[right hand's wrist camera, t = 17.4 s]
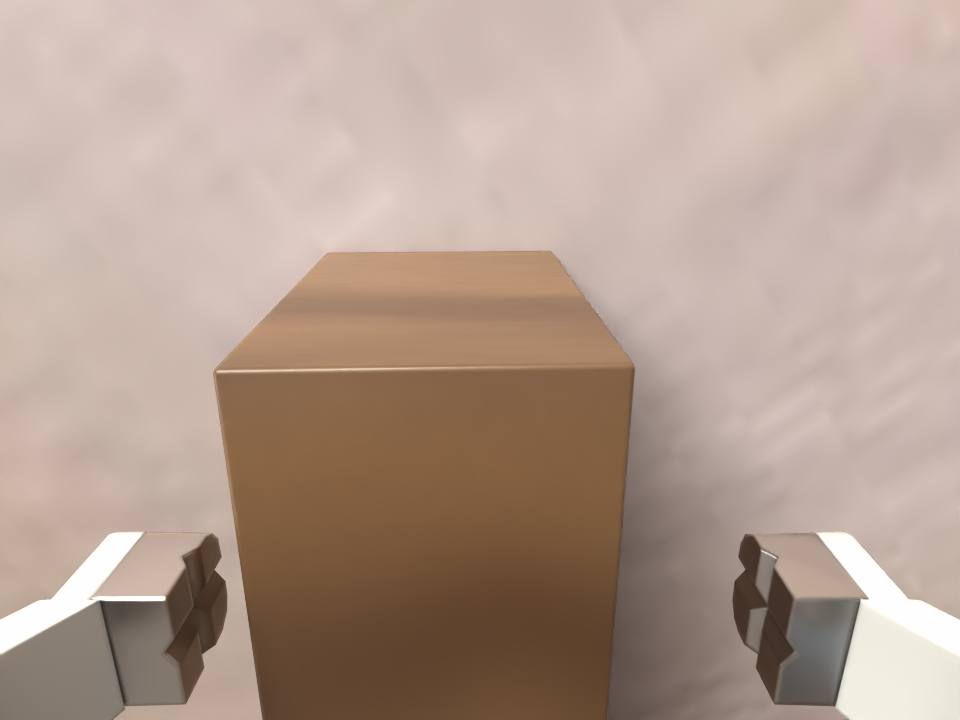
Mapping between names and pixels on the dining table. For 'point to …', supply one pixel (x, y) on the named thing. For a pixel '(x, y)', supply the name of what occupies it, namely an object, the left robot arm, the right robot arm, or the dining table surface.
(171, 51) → the dining table surface
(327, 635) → the bar
